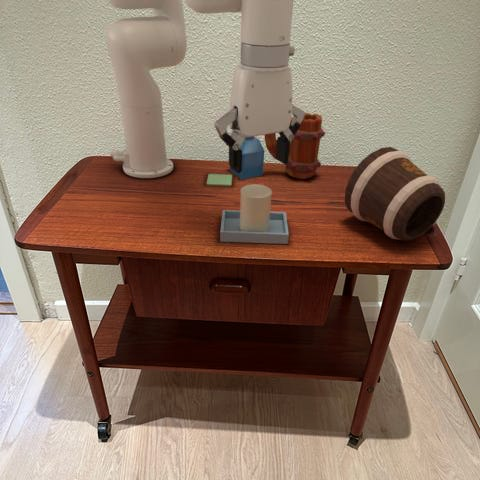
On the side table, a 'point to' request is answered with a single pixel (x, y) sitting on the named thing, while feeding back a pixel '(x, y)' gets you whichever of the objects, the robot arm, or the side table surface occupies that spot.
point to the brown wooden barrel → (394, 194)
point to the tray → (274, 235)
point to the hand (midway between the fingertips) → (259, 165)
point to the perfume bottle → (251, 158)
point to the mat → (219, 180)
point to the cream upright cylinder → (255, 208)
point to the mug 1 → (301, 147)
